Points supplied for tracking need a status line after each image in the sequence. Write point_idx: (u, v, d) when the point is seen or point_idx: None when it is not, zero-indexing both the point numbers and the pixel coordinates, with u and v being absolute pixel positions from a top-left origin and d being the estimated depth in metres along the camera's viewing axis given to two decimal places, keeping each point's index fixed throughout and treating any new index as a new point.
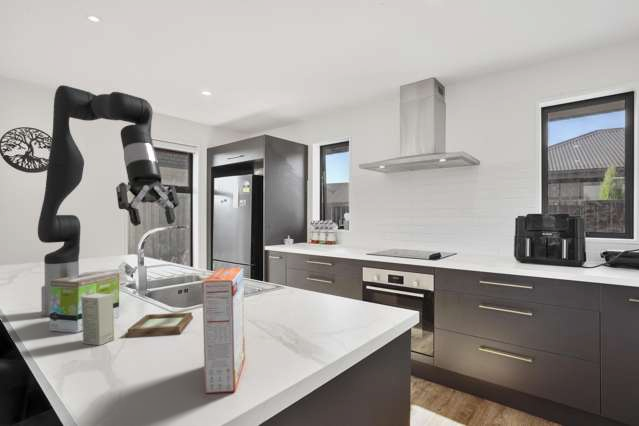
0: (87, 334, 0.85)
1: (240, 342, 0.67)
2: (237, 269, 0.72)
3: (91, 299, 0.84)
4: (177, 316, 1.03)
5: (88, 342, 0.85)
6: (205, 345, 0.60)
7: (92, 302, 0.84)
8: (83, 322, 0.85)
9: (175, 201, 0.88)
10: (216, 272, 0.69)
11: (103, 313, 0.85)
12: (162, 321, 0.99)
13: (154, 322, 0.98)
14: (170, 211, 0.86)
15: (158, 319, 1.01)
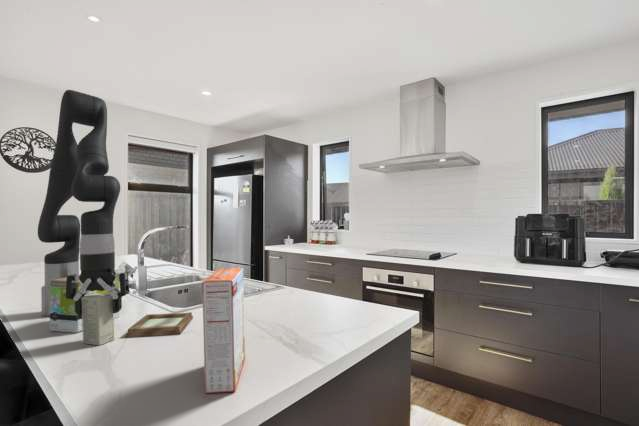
0: (87, 334, 0.85)
1: (240, 342, 0.67)
2: (237, 269, 0.72)
3: (91, 299, 0.84)
4: (177, 316, 1.03)
5: (88, 342, 0.85)
6: (205, 345, 0.60)
7: (92, 302, 0.84)
8: (83, 322, 0.85)
9: (121, 291, 0.86)
10: (216, 272, 0.69)
11: (103, 313, 0.85)
12: (162, 321, 0.99)
13: (154, 322, 0.98)
14: (113, 302, 0.86)
15: (158, 319, 1.01)
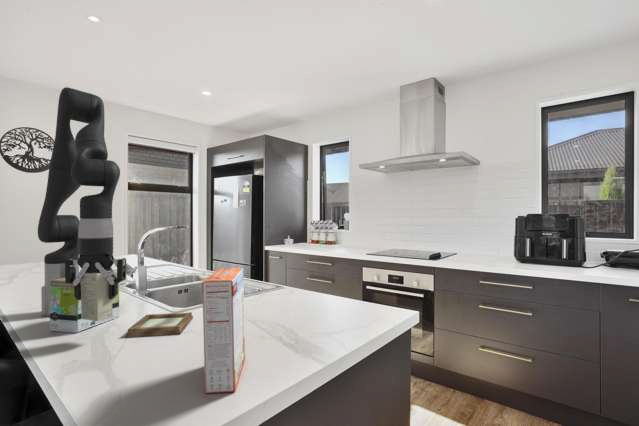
0: (85, 310, 0.85)
1: (240, 342, 0.67)
2: (237, 269, 0.72)
3: (90, 275, 0.84)
4: (177, 316, 1.03)
5: (86, 318, 0.85)
6: (205, 345, 0.60)
7: (91, 278, 0.84)
8: (82, 298, 0.85)
9: (118, 277, 0.86)
10: (216, 272, 0.69)
11: (102, 289, 0.85)
12: (162, 321, 0.99)
13: (154, 322, 0.98)
14: (109, 288, 0.86)
15: (158, 319, 1.01)
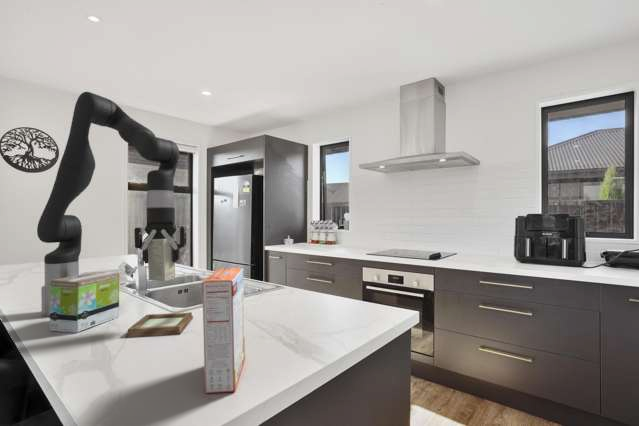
0: (153, 272, 0.96)
1: (240, 342, 0.67)
2: (237, 269, 0.72)
3: (157, 241, 0.95)
4: (177, 316, 1.03)
5: (154, 279, 0.96)
6: (205, 345, 0.60)
7: (158, 243, 0.95)
8: (149, 261, 0.96)
9: (180, 243, 0.97)
10: (216, 272, 0.69)
11: (167, 253, 0.96)
12: (162, 321, 0.99)
13: (154, 322, 0.98)
14: (173, 252, 0.97)
15: (158, 319, 1.01)
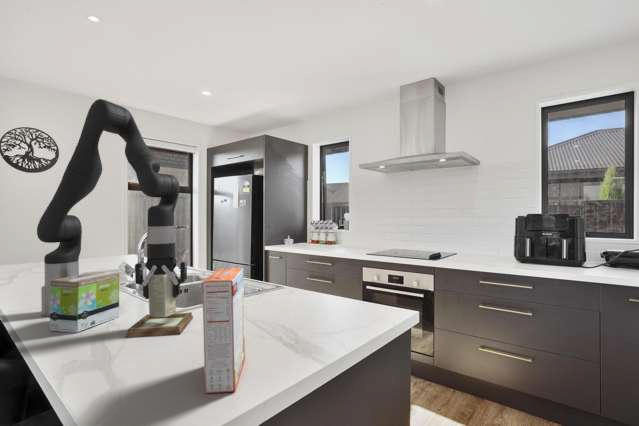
0: (153, 308, 0.96)
1: (240, 342, 0.67)
2: (237, 269, 0.72)
3: (157, 277, 0.95)
4: (177, 316, 1.03)
5: (154, 315, 0.96)
6: (205, 345, 0.60)
7: (158, 279, 0.95)
8: (149, 297, 0.96)
9: (181, 278, 0.97)
10: (216, 272, 0.69)
11: (168, 289, 0.96)
12: (162, 321, 0.99)
13: (154, 322, 0.98)
14: (174, 288, 0.97)
15: (158, 319, 1.01)
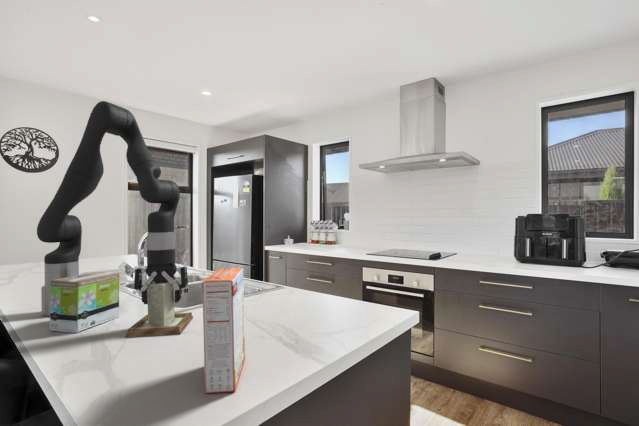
0: (152, 317, 0.96)
1: (240, 342, 0.67)
2: (237, 269, 0.72)
3: (156, 286, 0.95)
4: (177, 316, 1.03)
5: (153, 324, 0.95)
6: (205, 345, 0.60)
7: (157, 288, 0.95)
8: (148, 306, 0.96)
9: (182, 283, 0.97)
10: (216, 272, 0.69)
11: (167, 298, 0.96)
12: None
13: None
14: (175, 293, 0.97)
15: None
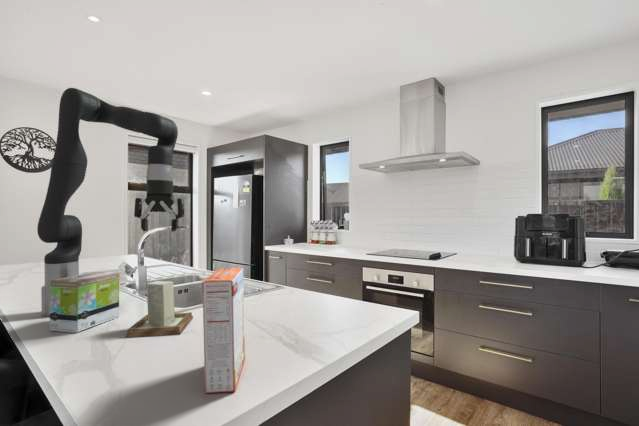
0: (152, 317, 0.96)
1: (240, 342, 0.67)
2: (237, 269, 0.72)
3: (156, 286, 0.95)
4: (177, 316, 1.03)
5: (153, 324, 0.95)
6: (205, 345, 0.60)
7: (157, 288, 0.95)
8: (148, 306, 0.96)
9: (178, 213, 1.04)
10: (216, 272, 0.69)
11: (167, 298, 0.96)
12: None
13: None
14: (172, 222, 1.04)
15: None
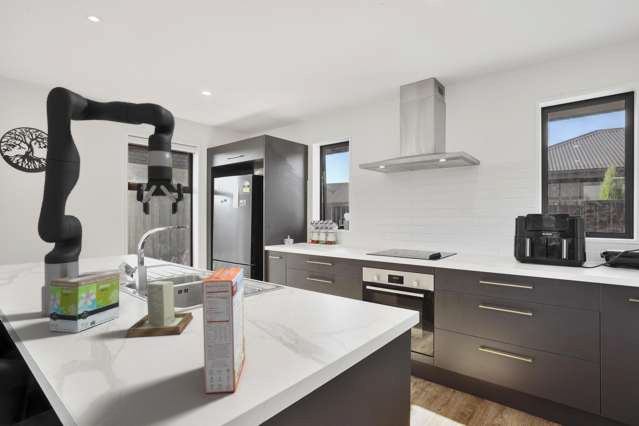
0: (152, 317, 0.96)
1: (240, 342, 0.67)
2: (237, 269, 0.72)
3: (156, 286, 0.95)
4: (177, 316, 1.03)
5: (153, 324, 0.95)
6: (205, 345, 0.60)
7: (157, 288, 0.95)
8: (148, 306, 0.96)
9: (178, 197, 1.11)
10: (216, 272, 0.69)
11: (167, 298, 0.96)
12: None
13: None
14: (172, 205, 1.11)
15: None
